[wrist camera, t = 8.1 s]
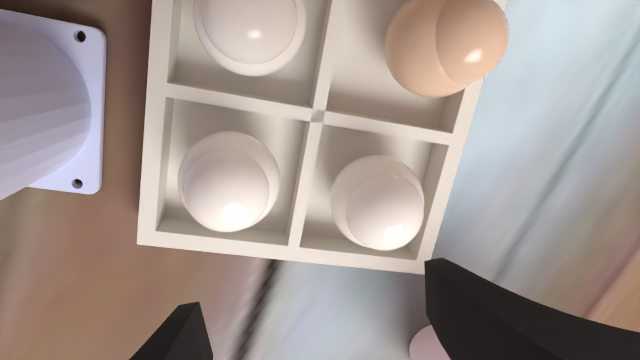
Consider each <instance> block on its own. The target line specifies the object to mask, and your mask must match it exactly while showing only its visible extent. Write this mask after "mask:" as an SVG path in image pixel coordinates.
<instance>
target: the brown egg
mask: <svg viewBox="0 0 640 360" xmlns="http://www.w3.org/2000/svg"><path fill="white" fill-rule="evenodd" d="M508 41H509V24H508V20H507V18H506V15H505V13H504V11H503V10H502V8H501V7H500V6H499V5H498V4H497V3H496V2H495V1H494V0H408V1H407V2H405V3H404V4H403V5H402V6H401V7H400V8H399V10H398V11H397V12H396V14H395V15H394V16H393V18H392V20H391V22H390V24H389V27H388V29H387V32H386V37H385V44H384V53H385V59H386V63H387V66H388V68H389V71H390V73H391V75H392V76H393V78H394V79H395V80H396V81H397V82H398V83H399V84H400V86H402V87H403V88H404V89H406V90H407V91H409V92H411V93H413V94H416V95H418V96H422V97H428V98H439V97H445V96H449V95H452V94H455V93H457V92H459V91H461V90H463V89H464V88H466V87H467V86H469V85H470V84H471V83H472V82H474V81H477V80H479V79H481V78H483V77H484V76H486V75H487V74H489V73H490V72H491V71H492V70H493V69H494V68H495V67H496V66H497V65H498V64H499V62H500V61H501V59H502V58H503V56H504V54H505V52H506V49H507V46H508Z"/></svg>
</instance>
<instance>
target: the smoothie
mask: <svg viewBox="0 0 640 360" xmlns="http://www.w3.org/2000/svg"><path fill="white" fill-rule="evenodd" d="M409 355H410V358H411V360H451V359H450V358H449V356H448V355H447V353H446V351H445V350H444V348H443V347H442V345H441V343H440V342H439V340H438V338H437V336H436V333H435V331H434V329H433V327H432V325H428V326H426V327H424V328H423V329H421V330H420V331H419V332H417V333H416V335H415V336H414V337H413V339H412V340H411V343H410V346H409Z"/></svg>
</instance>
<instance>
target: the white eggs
mask: <svg viewBox="0 0 640 360" xmlns="http://www.w3.org/2000/svg"><path fill="white" fill-rule="evenodd" d="M193 19H194V25H195V30H196V32H197V35H198V38H199V40H200V42H201V44H202V46H203V47H204V49H205V50H206V52H207V53H208V54H209V55H210V56H211V57H212V58H213V59H214V60H215V61H216V62H217V63H218V64H220V65H221V66H222V67H224V68H226V69H228V70H229V71H232V72H234V73H237V74H241V75H245V76H263V75H267V74H271V73H273V72H276V71H278V70H280V69H281V68H283V67H284V66H286V65H287V64H288V63H289V62H290V61H291V60H292V59H293V58H294V57H295V55H296V54H297V53H298V51H299V49H300V47H301V45H302V43H303V40H304V38H305V34H306V29H307V10H306V5H305V1H304V0H194V3H193ZM177 185H178V191H179V195H180V198H181V200H182V203H183V205H184V206H185V208H186V210H187V211H188V212H189V213H190V215H191V216H192V217H193V218H194V219H195V220H196V221H197V222H199V223H200V224H201V225H203V226H205V227H206V228H209V229H211V230H214V231H218V232H234V231H239V230H242V229H246V228H248V227H251V226H253V225H254V224H256V223H258V222H259V221H261V220H262V219H263V218H264V217H265V216H266V215H267V214H268V213H269V212H270V210H271V209H272V208H273V206H274V204H275V202H276V200H277V197H278V194H279V190H280V172H279V168H278V165H277V162H276V160H275V158H274V156H273V155H272V153H271V152H270V150H269V149H268V148H267V147H266V146H265V145H264V144H263V143H262V142H260V141H259V140H257V139H256V138H254V137H252V136H250V135H247V134H245V133H241V132H235V131H222V132H216V133H213V134H210V135H208V136H205V137H204V138H202V139H200V140H199V141H197V142H196V143H195V144H194V145H193V146H192V147H191V148H190V149H189V150H188V151H187V153H186V154H185V156H184V158H183V160H182V162H181V164H180V167H179V171H178V183H177ZM330 210H331V214H332V217H333V220H334V222H335V224H336V225H337V227H338V229H339V230H340V231H341V232H342V233H343V234H344V235H345V236H346V237H347V238H348V239H349V240H351V241H352V242H354V243H356V244H358V245H361V246H364V247H368V248H372V249H375V250H383V251H387V250H394V249H397V248H400V247H402V246H404V245H406V244H407V243H409V242H410V241H411V240H412V239H413V238H414V237H415V236H416V235H417V233H418V232H419V230H420V228H421V225H422V222H423V217H424V194H423V189H422V186H421V184H420V182H419V180H418V178H417V176H416V175H415V173H414V172H413V171H412V170H411V169H410V168H409V167H408V166H407V165H406V164H404V163H403V162H401V161H399V160H397V159H395V158H393V157H389V156H385V155H368V156H364V157H361V158H358V159H356V160H354V161H352V162H351V163H349V164H348V165H347V166H345V167H344V168H343V169H342V170H341V172H340V173H339V174H338V175H337V177H336V179H335V181H334V183H333V185H332V188H331V193H330Z"/></svg>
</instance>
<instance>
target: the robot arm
mask: <svg viewBox="0 0 640 360" xmlns="http://www.w3.org/2000/svg"><path fill="white" fill-rule="evenodd" d="M80 31H83V32H84V33H85V35H86V39H85V41H84V42H80V41H79V39H78V37H77V35H78V32H80ZM106 45H107V40H106V36H105V34H104V32H102V31H101V30H100V29H98V28H95V27H90V26H85V25H80V24H75V23H70V22H65V21H60V20H54V19H49V18H44V17H39V16H34V15H29V14H24V13H19V12H13V11H8V10H3V9H0V200H2V199H4V198H5V197H7V196H9V195H11V194H13V193H15V192H17V191H19V190H21V189H22V188H24V187H34V188H42V189H50V190H58V191H66V192H74V193H82V194H94V193H96V192H97V191H98V190H99V189H100V188H101V185H102V159H103V130H104V102H105V73H106ZM75 179H79V180H81V181H82V183H83V186H78V185H77V184H76V182H75ZM424 267H425V290H426V312H427V316H428V318H429V321H430V323H431V325H432V327H433V329H434V331H435V333H436V336H437V338H438V340H439V342H440V343H441V345H442V347H443V348H444V350H445V351H446V353H447V355H448V356H449V358H450V359H451V360H640V333H639V332H635V331H630V330H625V329H621V328H617V327H613V326H609V325H605V324H601V323H598V322H594V321H591V320H587V319H584V318H580V317H577V316H574V315H571V314H567V313H564V312H562V311H559V310H556V309H553V308H550V307H548V306H545V305H542V304H539V303H537V302H534V301H532V300H529V299H527V298H525V297H522V296H520V295H518V294H515V293H513V292H511V291H509V290H506V289H504V288H502V287H500V286H498V285H496V284H494V283H492V282H490V281H488V280H486V279H484V278H482V277H480V276H478V275H476V274H474V273H472V272H470V271H468V270H466V269H464V268H463V267H461V266H459V265H457V264H455V263H453V262H451V261H449V260H446V259H444V258H438V259H432V260H427V261H424ZM129 360H213V353H212V349H211V345H210V341H209V338H208V334H207V330H206V326H205V322H204V318H203V315H202V311H201V307H200V303H199V302H194V303H188V304H183V305H179V306H178V307H177V308H176V309H175V310H174V311H173V312H172V313H171V314H170V316H169V317H168V318H167V319H166V320H165V321H164V322H163V323H162V325H161V326H160V327H159V328H158V329H157V330H156V331H155V332H154V334H153V335H152V336H151V337H150V338H149V339H148V340H147V341H146V342H145V344H144V345H143V346H142V347H141V348H140V349H139V350H138V351H137V352H136V353H135V354H134V355H133V356H132V357H131V358H130V359H129Z"/></svg>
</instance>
